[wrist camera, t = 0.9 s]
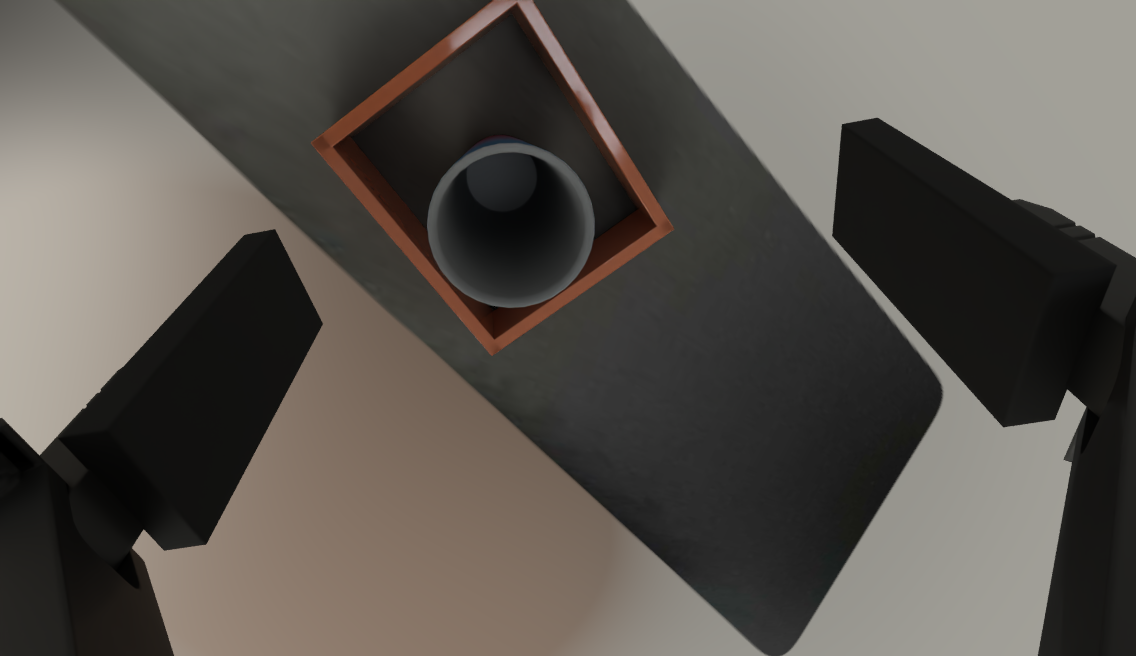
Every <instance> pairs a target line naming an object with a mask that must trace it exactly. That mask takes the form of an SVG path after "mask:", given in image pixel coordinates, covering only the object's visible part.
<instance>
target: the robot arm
mask: <svg viewBox="0 0 1136 656" xmlns="http://www.w3.org/2000/svg"><path fill="white" fill-rule="evenodd" d="M832 236H833V237H834V239H835V240H836V241H837V242H838V243H839V244H840V245H841V246H842V247H843V248H844V250H845V251H846V252H847V253H848V254H849V255H850V256H851V258H853V260H854V261H855V262H856V263H857V264H858V265H859V266H860V268H861V269H862V270H863V271H864V272H865V273H866V274H867V275H868V276H869V278H870V279H871V280H872V281H873V282H874V283H875V284H876V285H877V287H878V288H879V289H880V290H881V291H882V292H883V293H884V294H885V296H886V297H887V298H888V299H889V300H890V301H891V302H892V303H893V305H894V306H895V307H896V308H897V309H898V310H899V311H900V312H901V313H902V314H903V316H904V317H905V318H906V319H907V320H908V321H909V322H910V323H911V325H912V326H913V327H914V328H915V329H916V330H917V331H918V332H919V334H920V335H921V336H922V337H923V338H924V339H925V340H926V341H927V343H928V344H929V345H930V346H931V347H932V348H933V349H934V350H935V351H936V352H937V354H938V355H939V356H940V357H941V358H942V359H943V360H944V361H945V362H946V364H947V365H948V366H949V367H950V368H951V369H952V371H953V372H954V373H955V374H956V375H957V376H958V377H959V378H960V379H961V381H962V382H963V383H964V384H965V385H966V386H967V387H968V388H969V390H971V392H972V393H973V394H974V395H975V396H976V397H977V398H978V400H980V402H981V403H982V404H983V405H984V406H985V407H986V409H987V410H988V411H989V412H990V413H991V414H992V415H993V416H994V418H995V419H996V420H997V421H998V422H999V423H1000V424H1001V425H1002V426H1003V427H1008V426H1015V425H1022V424H1028V423H1036V422H1042V421H1049V420H1055V418H1056V415H1057V413H1058V410H1059V408H1060V405H1061V403H1062V400H1063V398H1064V396H1065V393H1066V391H1067V389H1068V390H1069V391H1070V392H1071V393H1072V394H1073V395H1074V396H1076V397H1077V398H1078V399H1079V400H1080V401H1081V402H1082V403H1083V404H1084V405H1085V406H1087V407H1086V410H1085V412H1084V414H1083V416H1082V419H1081V421H1080V423H1079V426H1078V428H1077V430H1076V433H1075V435H1074V437H1073V439H1072V442H1071V444H1070V446H1069V448H1068V451H1067V453H1066V455H1065V457H1064V460H1066V461H1069V462H1072V466H1071V472H1070V477H1069V483H1068V489H1067V494H1066V500H1065V506H1064V511H1063V517H1062V523H1061V528H1060V534H1059V540H1058V545H1057V551H1056V556H1055V562H1054V568H1053V574H1052V579H1051V585H1050V591H1049V596H1048V602H1047V607H1046V613H1045V619H1044V624H1043V630H1042V636H1041V641H1040V647H1039V652H1038V656H1136V258H1135V257H1133V256H1132V255H1130V254H1128V253H1126V252H1125V251H1123V250H1121V249H1119V248H1118V247H1116V246H1114V245H1113V244H1111V243H1109V242H1108V241H1106V240H1104V239H1102V238H1101V237H1097V238H1095V234H1094V233H1092V232H1091V231H1089V230H1087V229H1085V228H1084V227H1082V226H1076V225H1075V222H1073V221H1072V220H1070V219H1068V218H1066V217H1065V216H1063V215H1061V214H1060V213H1058V212H1056V211H1054V210H1053V209H1050V208H1047V207H1044V206H1040V205H1037V204H1034V203H1030V202H1027V201H1024V200H1020V199H1019V200H1010V199H1009V198H1007V197H1006V196H1004V195H1002V194H1001V193H999V192H997V191H996V190H994V189H993V188H991V187H989V186H988V185H986V184H984V183H983V182H981V181H979V180H978V179H976V178H974V177H973V176H971V175H970V174H968V173H967V172H965V171H963V170H962V169H960V168H958V167H957V166H955V165H953V164H952V163H950V162H949V161H947V160H945V159H944V158H942V157H941V156H939V155H937V154H936V153H934V152H932V151H931V150H929V149H928V148H926V147H924V146H923V145H921V144H919V143H918V142H916V141H915V140H913V139H911V138H910V137H908V136H906V135H905V134H903V133H902V132H900V131H898V130H897V129H895V128H893V127H892V126H890V125H888V124H887V123H885V122H883V121H882V120H880V119H879V118H874V119H868V120H862V121H857V122H852V123H846V124H842V130H841V141H840V153H839V165H838V176H837V189H836V199H835V211H834V222H833V234H832ZM322 325H323V323H322V321H321V319H320V317H319V315H318V313H317V311H316V309H315V307H314V306H313V303H312V301H311V299H310V297H309V295H308V293H307V291H306V289H305V287H304V286H303V283H302V282H301V280H300V278H299V276H298V274H297V272H296V270H295V268H294V266H293V264H292V262H291V260H290V258H289V256H288V254H287V252H286V250H285V248H284V246H283V244H282V242H281V240H280V238H279V236H278V234H277V232H276V230H275V229H274V230H269V231H263V232H258V233H252V234H247V235H244V236H243V237H242V238H241V239H240V240H239V241H238V242H237V243H236V245H235V246H234V247H233V248H232V249H231V250H230V251H229V252H228V253H227V254H226V255H225V257H224V258H223V259H222V260H221V261H220V262H219V263H218V264H217V265H216V266H215V268H214V269H213V270H212V271H211V272H210V273H209V274H208V275H207V276H206V277H205V278H204V279H203V281H202V282H201V283H200V284H199V285H198V286H197V287H196V288H195V289H194V290H193V291H192V293H191V294H190V295H189V296H188V297H187V298H186V299H185V300H184V301H183V302H182V304H181V305H180V306H179V307H178V308H177V309H176V310H175V311H174V312H173V313H172V314H171V316H170V317H169V318H168V319H167V320H166V321H165V322H164V323H163V324H162V325H161V326H160V327H159V329H158V330H157V331H156V332H155V333H154V334H153V335H152V336H151V337H150V338H149V340H147V342H146V343H145V344H144V345H143V346H142V347H141V348H140V349H139V350H138V351H137V352H136V354H135V355H134V356H133V357H132V358H131V359H130V360H129V361H128V362H127V363H126V364H125V366H124V367H122V368H121V369H120V370H118V371H117V372H116V373H115V374H114V375H113V377H112V378H111V379H110V380H109V381H108V382H107V383H106V384H105V385H104V386H103V387H102V388H101V392H100V393H97V394H96V395H95V396H94V397H93V398H92V399H91V400H90V402H89V403H88V404H87V407H86V408H85V409H82V410H81V412H79V413H78V415H77V416H76V417H75V418H74V419H73V420H72V421H71V422H70V423H69V424H68V425H67V427H66V428H65V429H64V430H63V431H62V432H61V433H60V434H59V435H58V437H56V438H55V439H54V441H53V442H52V443H51V444H50V445H49V446H48V447H47V448H46V449H45V451H43V453H42V454H41V455H40V456H39V455H38V454H37V453H36V452H35V451H34V450H33V449H32V448H31V447H30V446H29V445H28V444H27V442H25V440H24V439H22V438H21V436H20V435H19V434H18V433H17V432H15V430H13V428H12V427H11V426H9V424H7V422H6V421H5V420H4V419H2V418H0V656H174V654H173V651H172V648H171V645H170V641H169V638H168V635H167V632H166V629H165V626H164V622H163V619H162V616H161V613H160V610H159V606H158V603H157V600H156V597H155V594H154V591H153V588H152V584H151V581H150V578H149V575H148V572H147V568H146V565H145V562H144V561H143V559H142V558H141V557H140V556H139V555H138V554H137V553H136V552H135V551H134V550H133V549H132V546H133V545H134V543H135V542H136V540H137V539H138V537H139V535H140V534H141V532H142V531H143V529H144V530H145V531H146V532H147V533H148V534H149V535H150V536H151V537H152V538H153V539H154V540H155V541H156V542H157V544H158V545H159V546H160V547H161V548H162V549H163V550H172V549H178V548H185V547H191V546H199V545H206V544H207V542H208V540H209V538H210V536H211V534H212V532H213V531H214V529H215V527H216V525H217V523H218V521H219V519H220V517H221V515H222V514H223V511H224V510H225V508H226V506H227V504H228V502H229V500H230V498H231V496H232V495H233V493H234V491H235V489H236V487H237V485H238V483H239V481H240V479H241V478H242V475H243V474H244V472H245V470H246V468H247V466H248V464H249V462H250V461H251V459H252V457H253V455H254V453H255V451H256V449H257V447H258V445H259V444H260V442H261V440H262V438H263V436H264V434H265V432H266V430H267V429H268V427H269V425H270V423H271V421H272V419H273V417H274V415H275V413H276V412H277V410H278V408H279V406H280V404H281V402H282V400H283V398H284V396H285V394H286V393H287V391H288V389H289V387H290V385H291V383H292V381H293V379H294V378H295V376H296V374H297V372H298V370H299V368H300V366H301V364H302V362H303V360H304V359H305V357H306V355H307V353H308V351H309V349H310V347H311V345H312V343H313V342H314V340H315V338H316V336H317V334H318V332H319V330H320V328H321V326H322Z"/></svg>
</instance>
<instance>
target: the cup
mask: <svg viewBox="0 0 1136 656" xmlns="http://www.w3.org/2000/svg"><path fill="white" fill-rule="evenodd" d="M427 230H428V240H429V244H430V247H431V250H432V254H433V257H434V259H435V260H436V262H437V264H438V266H439V268H440V270H441V271H442V272H443V274H444V275H445V276H446V277H447V278H448V280H449V281H450V282H451V283H452V284H453V285H454V286H455V287H457V288H458V289H459V290H460V291H462V292H463V293H464V294H466V295H468V296H470V297H471V298H473V299H475V300H477V301H480V302H483V303H486V304H489V305H492V306H498V307H506V308H514V307H526V306H530V305H534V304H538V303H541V302H543V301H545V300H547V299H550V298H552V297H554V296H555V295H557V294H558V293H559V292H561V291H562V290H564V289H565V288H566V287H567V286H568V285H569V284H570V283H571V282H572V281H573V280H574V279H575V278H576V277H577V276H578V274H579V273H580V271H581V270H582V268H583V267H584V265H585V264H586V261H587V259H588V256H589V254H590V252H591V249H592V244H593V239H594V234H595V217H594V212H593V207H592V202H591V200H590V197H589V195H588V192H587V190H586V187H585V186H584V184H583V183H582V181H581V180H580V178H579V177H578V175H577V174H576V173H575V172H574V171H573V170H572V169H571V168H570V167H569V166H568V165H567V164H566V163H565V162H564V161H563V160H561V159H560V158H558V157H557V156H555V155H554V154H552V153H551V152H549V151H546V150H544V149H542V148H539V147H537V146H534V145H532V144H529V143H527V142H525V141H522V140H520V139H517V138H515V137H512V136H508V135H493V136H489V137H486V138H484V139H482V140H480V141H479V142H478V143H476V144H475V145H474V146H473V147H472V148H470V149H469V150H468V151H467V152H466V153H465V154H464V155H463V156H462V157H461V158H460V159H459V160H458V161H456V162H455V163H454V164H453V165H452V166H451V168H450V169H449V170H448V171H447V172H446V173H445V174H444V176H443V177H442V178H441V180H440V182H439V183H438V185H437V187H436V189H435V191H434V193H433V196H432V199H431V202H430V205H429V209H428V219H427Z"/></svg>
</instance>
